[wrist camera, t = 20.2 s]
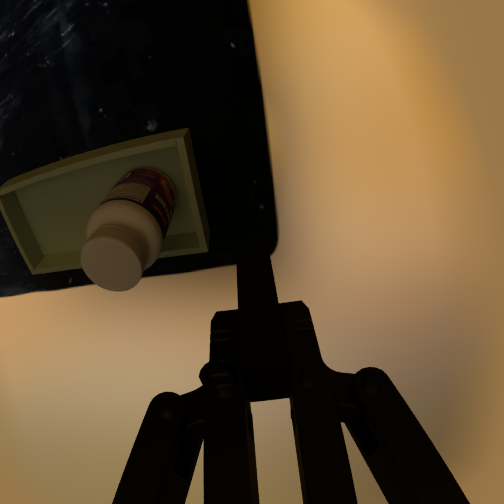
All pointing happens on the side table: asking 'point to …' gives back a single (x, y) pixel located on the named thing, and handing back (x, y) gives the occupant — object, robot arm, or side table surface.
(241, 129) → the side table surface
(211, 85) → the side table surface
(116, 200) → the pill bottle
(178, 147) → the tray
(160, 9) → the side table surface
